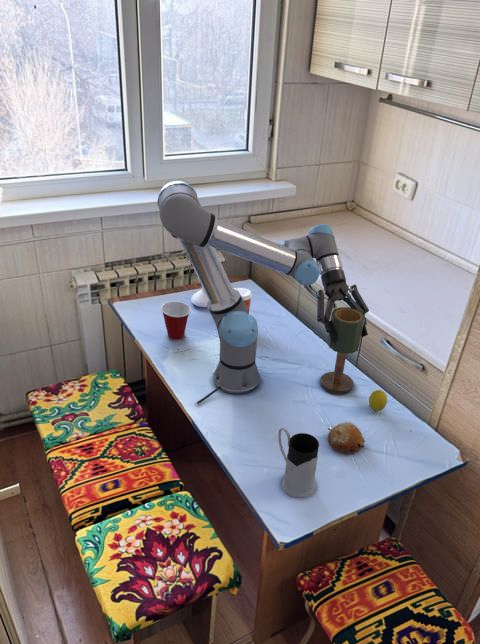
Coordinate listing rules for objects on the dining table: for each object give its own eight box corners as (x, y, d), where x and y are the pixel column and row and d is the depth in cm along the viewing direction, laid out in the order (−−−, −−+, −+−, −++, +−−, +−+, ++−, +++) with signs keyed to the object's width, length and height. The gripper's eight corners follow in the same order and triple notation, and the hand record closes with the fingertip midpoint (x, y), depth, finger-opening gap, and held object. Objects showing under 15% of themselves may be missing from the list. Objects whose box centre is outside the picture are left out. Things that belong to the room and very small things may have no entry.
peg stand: (348, 398, 182) (356, 355, 173) (316, 389, 185) (322, 346, 176) (356, 380, 191) (364, 338, 182) (325, 371, 194) (331, 330, 185)
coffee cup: (247, 333, 212) (249, 298, 204) (226, 330, 213) (227, 295, 205) (252, 322, 219) (254, 288, 211) (231, 319, 220) (233, 285, 212)
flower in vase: (208, 294, 236) (209, 238, 222) (224, 305, 229) (226, 248, 215) (182, 302, 229) (181, 244, 215) (198, 313, 222) (198, 255, 208)
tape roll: (354, 356, 174) (360, 326, 168) (324, 348, 177) (328, 318, 171) (362, 341, 182) (367, 311, 176) (332, 333, 185) (336, 304, 179)
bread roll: (343, 438, 171) (337, 415, 169) (372, 442, 164) (366, 418, 162) (325, 455, 164) (319, 431, 162) (355, 459, 157) (348, 434, 155)
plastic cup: (187, 345, 202) (186, 316, 196) (158, 341, 203) (156, 312, 197) (194, 330, 211) (194, 302, 205) (167, 326, 212) (166, 298, 206)
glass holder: (295, 502, 144) (301, 460, 136) (263, 468, 153) (267, 427, 145) (321, 488, 149) (328, 446, 140) (288, 456, 158) (293, 415, 150)
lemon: (371, 417, 175) (375, 397, 171) (364, 406, 179) (368, 386, 175) (387, 415, 176) (392, 395, 172) (379, 404, 181) (384, 384, 176)
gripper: (356, 272, 186) (374, 335, 183) (295, 281, 178) (312, 347, 174) (367, 263, 179) (386, 329, 176) (304, 272, 171) (323, 342, 168)
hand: (350, 338), depth 175 cm, fingers closed on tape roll, 10 cm apart
